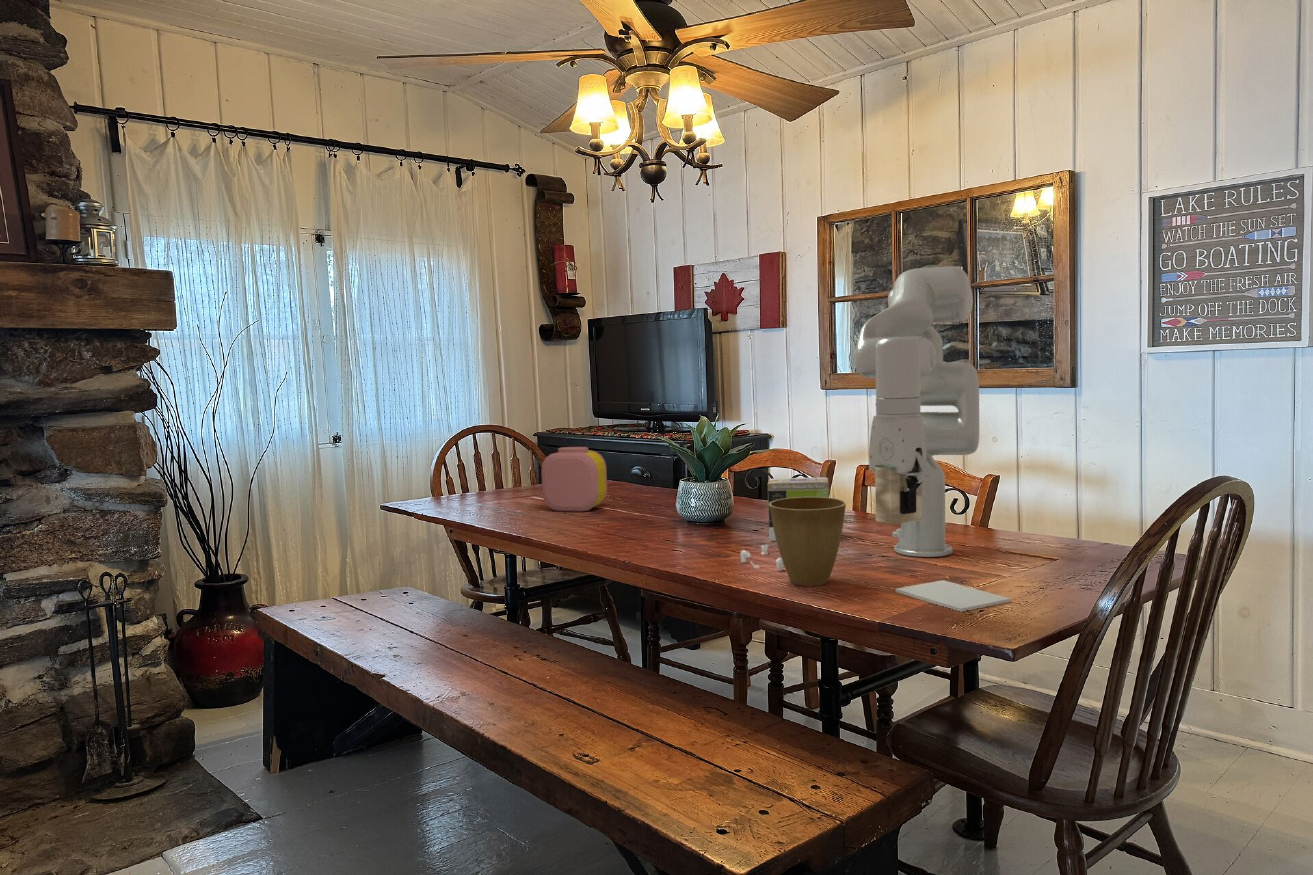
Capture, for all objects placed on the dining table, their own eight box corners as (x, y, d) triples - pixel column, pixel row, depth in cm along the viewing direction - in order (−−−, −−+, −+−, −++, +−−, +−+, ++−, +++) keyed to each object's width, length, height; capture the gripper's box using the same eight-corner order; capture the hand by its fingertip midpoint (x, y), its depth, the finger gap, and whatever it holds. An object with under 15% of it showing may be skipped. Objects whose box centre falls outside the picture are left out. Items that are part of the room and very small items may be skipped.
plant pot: (781, 571, 182) (779, 495, 180) (852, 575, 176) (851, 497, 175) (761, 588, 168) (760, 506, 167) (838, 594, 162) (837, 509, 161)
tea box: (829, 534, 220) (829, 476, 219) (830, 542, 210) (830, 481, 209) (770, 533, 222) (769, 476, 221) (768, 541, 213) (767, 482, 211)
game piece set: (811, 576, 178) (810, 558, 177) (724, 567, 188) (723, 550, 188) (843, 557, 194) (842, 540, 194) (761, 550, 205) (761, 534, 204)
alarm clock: (609, 507, 273) (607, 445, 271) (597, 512, 262) (594, 449, 261) (554, 506, 278) (552, 446, 277) (540, 511, 268) (538, 449, 266)
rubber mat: (895, 591, 163) (895, 588, 163) (943, 583, 168) (943, 580, 168) (960, 612, 148) (960, 608, 148) (1010, 601, 154) (1010, 598, 154)
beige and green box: (875, 521, 154) (875, 465, 153) (906, 516, 157) (905, 462, 156) (891, 524, 150) (890, 467, 149) (921, 520, 153) (921, 464, 152)
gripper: (850, 407, 158) (851, 507, 159) (915, 411, 143) (916, 520, 144) (882, 405, 161) (883, 503, 162) (949, 408, 146) (949, 516, 148)
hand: (898, 510), depth 153 cm, fingers closed on beige and green box, 4 cm apart
